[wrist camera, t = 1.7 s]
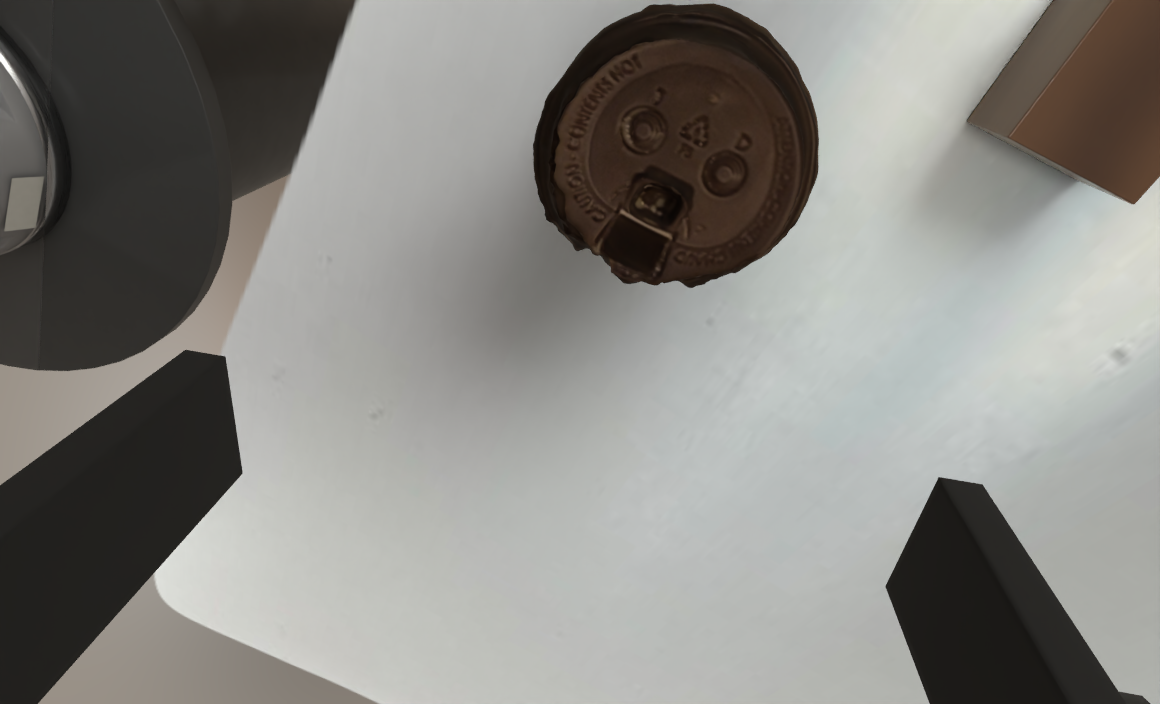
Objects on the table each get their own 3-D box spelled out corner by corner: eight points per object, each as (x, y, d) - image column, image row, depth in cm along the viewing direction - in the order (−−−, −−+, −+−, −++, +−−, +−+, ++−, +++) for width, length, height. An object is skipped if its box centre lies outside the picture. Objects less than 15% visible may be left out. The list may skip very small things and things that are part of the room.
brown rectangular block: (965, 121, 29) (1007, 137, 26) (1068, -23, 26) (1130, -26, 23) (1078, 181, 30) (1134, 205, 26) (1191, 47, 27) (1270, 54, 24)
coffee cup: (617, 225, 33) (593, 345, 22) (542, 60, 30) (467, 98, 18) (790, 152, 31) (867, 243, 19) (729, -37, 27) (777, -62, 16)
